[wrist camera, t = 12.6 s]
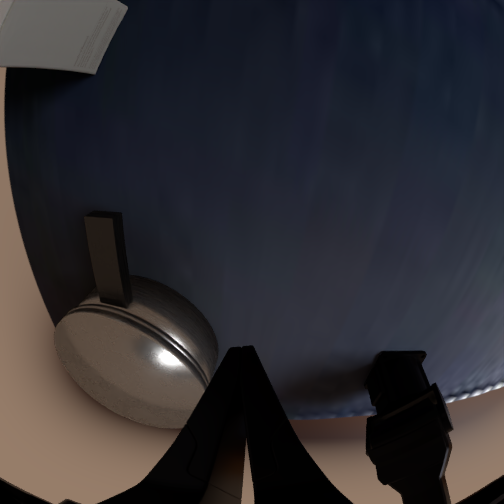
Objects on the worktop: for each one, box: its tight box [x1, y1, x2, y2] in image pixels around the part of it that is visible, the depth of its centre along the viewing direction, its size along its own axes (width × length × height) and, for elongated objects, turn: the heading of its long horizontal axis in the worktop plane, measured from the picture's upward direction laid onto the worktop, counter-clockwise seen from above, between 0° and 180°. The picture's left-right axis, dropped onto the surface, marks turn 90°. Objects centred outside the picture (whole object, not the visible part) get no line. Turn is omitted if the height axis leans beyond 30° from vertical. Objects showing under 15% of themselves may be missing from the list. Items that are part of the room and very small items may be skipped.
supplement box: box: [0, 0, 128, 74], centre depth 10 cm, size 7×7×13 cm
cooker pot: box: [68, 211, 218, 386], centre depth 26 cm, size 18×25×6 cm
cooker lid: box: [54, 308, 207, 429], centre depth 24 cm, size 18×18×1 cm
